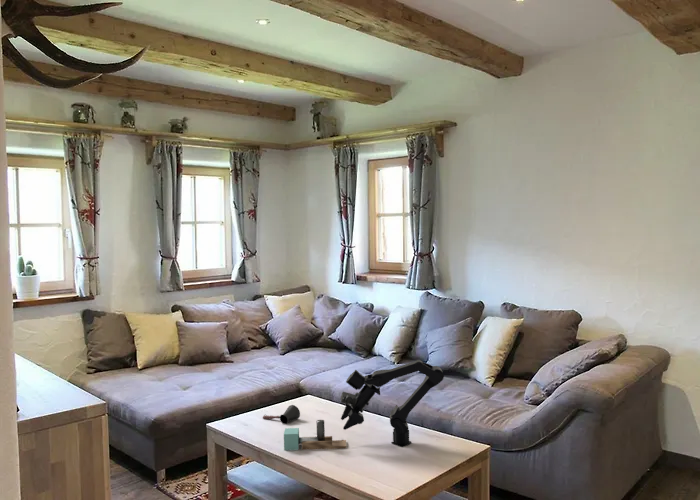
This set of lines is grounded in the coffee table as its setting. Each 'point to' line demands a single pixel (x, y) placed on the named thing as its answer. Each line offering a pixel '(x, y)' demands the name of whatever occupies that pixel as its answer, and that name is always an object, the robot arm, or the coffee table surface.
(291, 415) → the black handbell
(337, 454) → the coffee table surface
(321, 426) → the slip rod
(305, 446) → the guide
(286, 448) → the socket block
